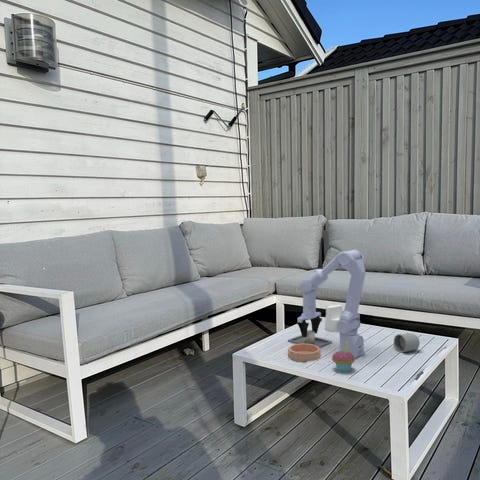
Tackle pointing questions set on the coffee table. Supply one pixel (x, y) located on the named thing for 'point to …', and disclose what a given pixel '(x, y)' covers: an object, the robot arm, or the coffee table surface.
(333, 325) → the grey white cylinder
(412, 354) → the coffee table surface
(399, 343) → the ceramic mug
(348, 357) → the cupcake
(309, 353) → the terracotta bowl
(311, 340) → the smooth grey cylinder
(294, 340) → the parts tray
